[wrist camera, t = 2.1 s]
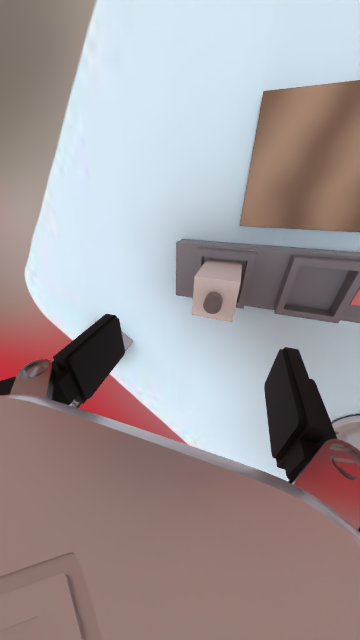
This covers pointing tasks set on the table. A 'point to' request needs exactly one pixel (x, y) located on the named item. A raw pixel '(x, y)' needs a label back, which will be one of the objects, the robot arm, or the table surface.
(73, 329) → the table surface
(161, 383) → the table surface
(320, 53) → the table surface
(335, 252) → the power strip
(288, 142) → the walnut mat
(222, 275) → the plug
